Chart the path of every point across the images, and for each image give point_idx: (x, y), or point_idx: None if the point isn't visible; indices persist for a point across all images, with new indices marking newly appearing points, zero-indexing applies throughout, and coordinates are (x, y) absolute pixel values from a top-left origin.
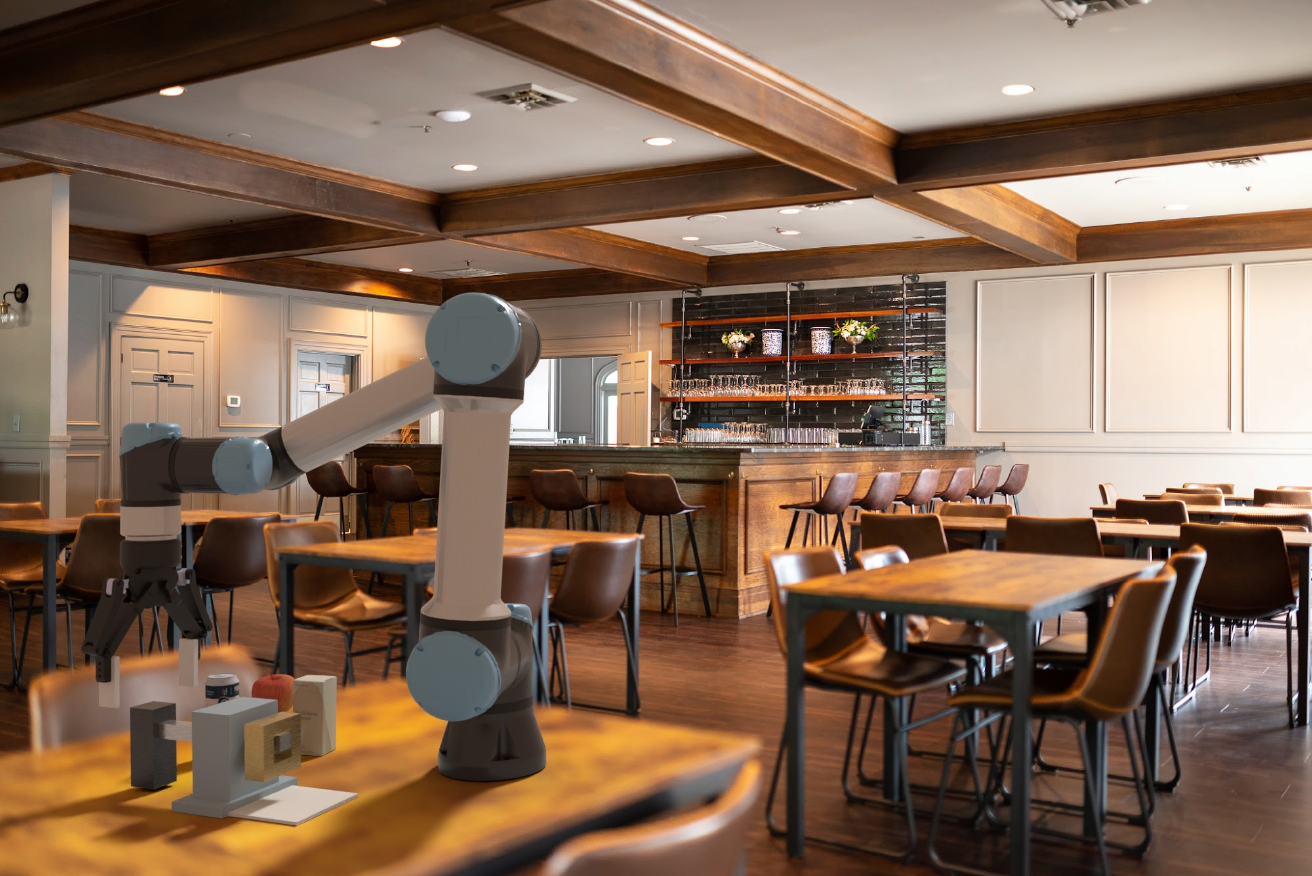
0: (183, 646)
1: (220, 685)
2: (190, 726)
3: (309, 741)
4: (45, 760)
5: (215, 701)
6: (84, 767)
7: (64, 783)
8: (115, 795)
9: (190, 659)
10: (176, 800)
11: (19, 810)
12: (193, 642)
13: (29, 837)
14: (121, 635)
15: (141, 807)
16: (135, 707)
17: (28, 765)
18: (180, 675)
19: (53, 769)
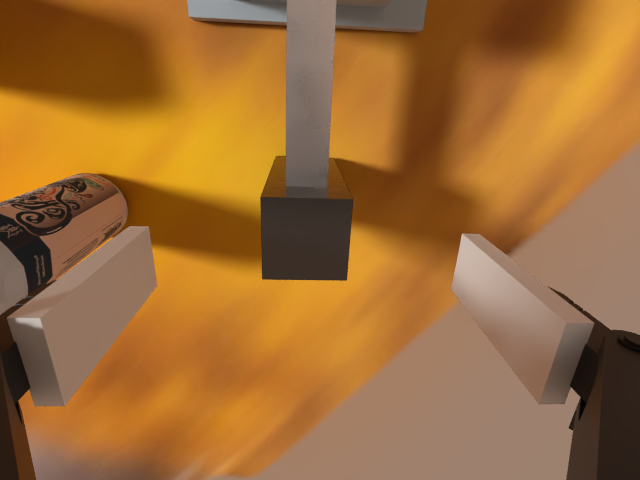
0: (81, 354)
1: (5, 246)
2: (332, 64)
3: None
4: (247, 437)
5: (49, 241)
6: (253, 368)
7: (330, 333)
8: (360, 213)
9: (103, 286)
10: (413, 25)
11: None
12: (49, 314)
13: (571, 174)
14: (634, 410)
15: (406, 115)
16: (342, 266)
17: (275, 437)
18: (141, 297)
19: (278, 397)
